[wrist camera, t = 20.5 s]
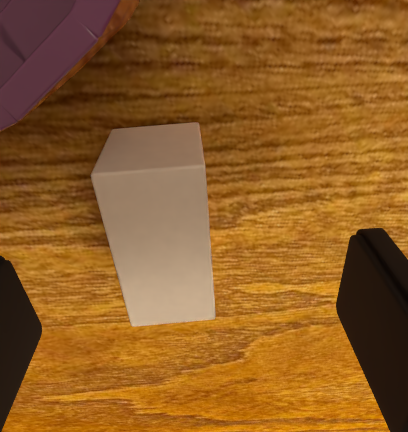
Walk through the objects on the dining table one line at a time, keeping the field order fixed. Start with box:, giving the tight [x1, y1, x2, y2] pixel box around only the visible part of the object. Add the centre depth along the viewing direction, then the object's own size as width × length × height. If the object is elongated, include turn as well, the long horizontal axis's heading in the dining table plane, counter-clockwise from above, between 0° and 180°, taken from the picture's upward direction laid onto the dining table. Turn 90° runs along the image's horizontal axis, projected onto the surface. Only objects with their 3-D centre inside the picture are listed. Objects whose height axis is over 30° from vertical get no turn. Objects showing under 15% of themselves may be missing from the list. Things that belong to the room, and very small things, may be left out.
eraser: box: [91, 122, 216, 327], centre depth 12 cm, size 6×3×4 cm, turn 4°
